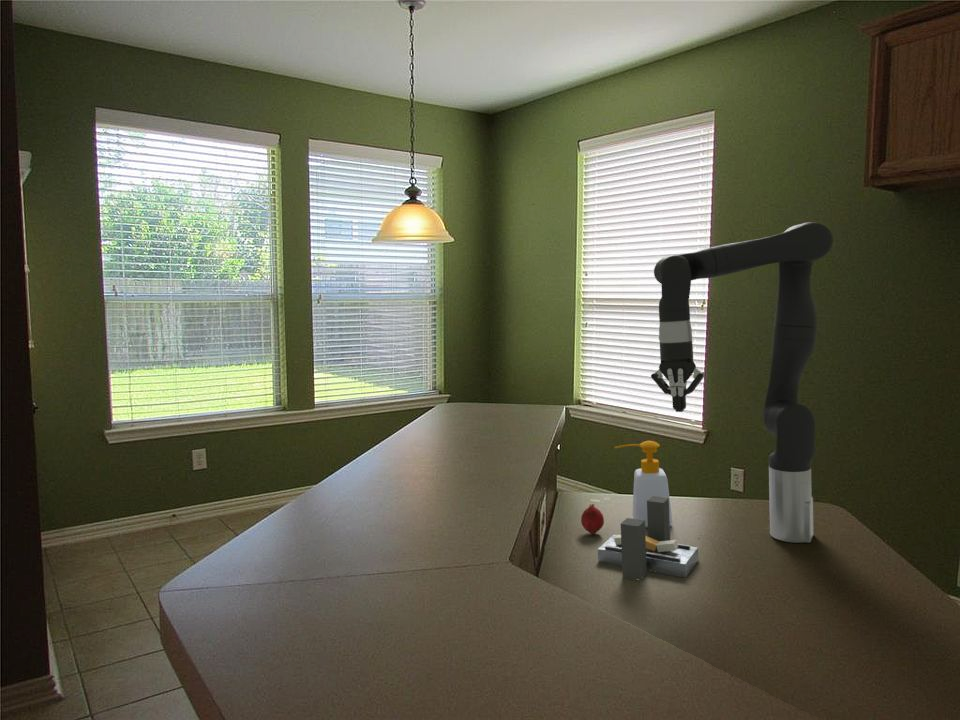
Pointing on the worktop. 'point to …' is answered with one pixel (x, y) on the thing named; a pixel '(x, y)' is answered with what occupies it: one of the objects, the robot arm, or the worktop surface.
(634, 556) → the cord post
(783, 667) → the worktop surface
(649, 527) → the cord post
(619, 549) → the breaker panel
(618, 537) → the paddle
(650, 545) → the orange block
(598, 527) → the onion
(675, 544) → the paddle
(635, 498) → the soap bottle
